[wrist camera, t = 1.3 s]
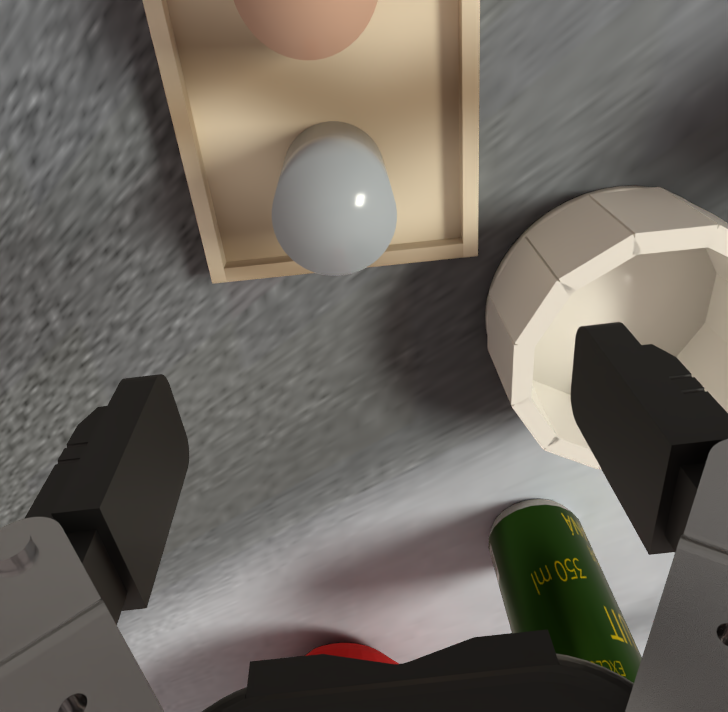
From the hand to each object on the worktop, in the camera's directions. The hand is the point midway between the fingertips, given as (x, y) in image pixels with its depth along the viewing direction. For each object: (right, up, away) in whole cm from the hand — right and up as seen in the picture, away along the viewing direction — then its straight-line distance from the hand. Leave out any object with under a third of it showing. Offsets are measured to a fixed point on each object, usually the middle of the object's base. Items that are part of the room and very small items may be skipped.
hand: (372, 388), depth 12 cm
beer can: (+10, -9, +24) cm, 27 cm away
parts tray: (-2, +11, +10) cm, 15 cm away
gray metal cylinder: (-1, +8, +12) cm, 14 cm away
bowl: (+11, +3, +16) cm, 19 cm away
